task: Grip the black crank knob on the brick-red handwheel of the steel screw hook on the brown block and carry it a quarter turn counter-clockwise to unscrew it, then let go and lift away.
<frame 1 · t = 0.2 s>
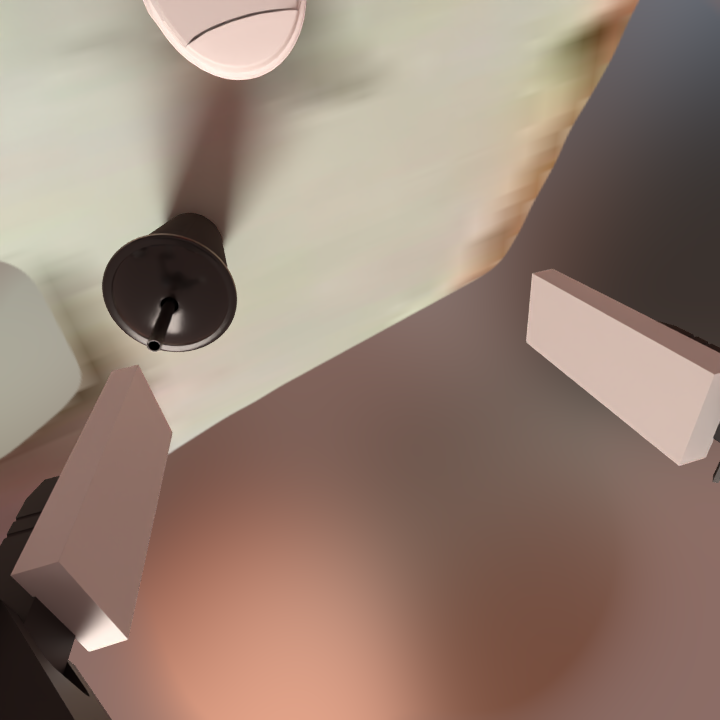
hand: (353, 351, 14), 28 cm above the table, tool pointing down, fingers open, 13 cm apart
drinking cup: (193, 241, 37), on the table
paper cup: (230, 29, 31), on the table
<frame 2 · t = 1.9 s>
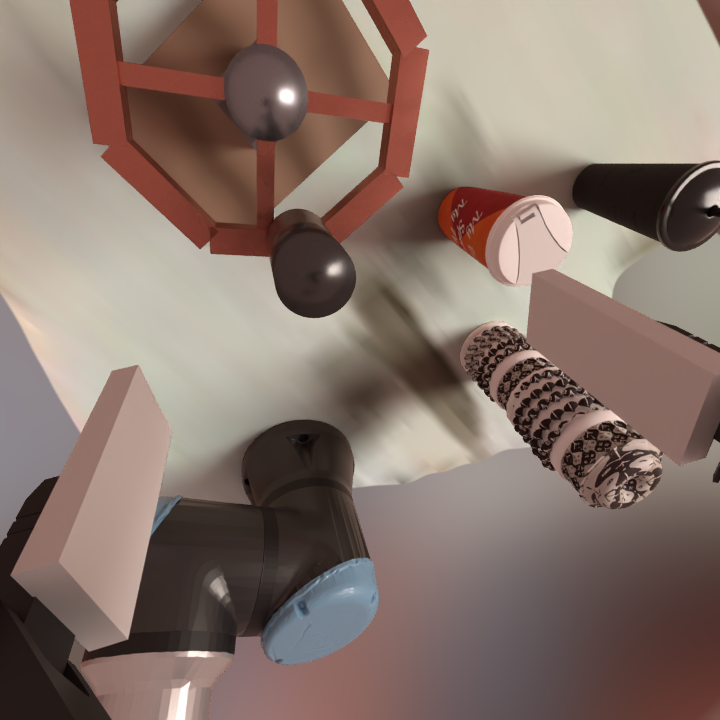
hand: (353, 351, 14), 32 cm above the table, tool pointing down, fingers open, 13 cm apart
drinking cup: (590, 186, 48), on the table
handwheel: (267, 96, 23), point 17 cm above the table, hinge at 0.0°
brown block: (256, 102, 37), on the table
paper cup: (460, 213, 46), on the table
decorative candle: (487, 348, 57), on the table
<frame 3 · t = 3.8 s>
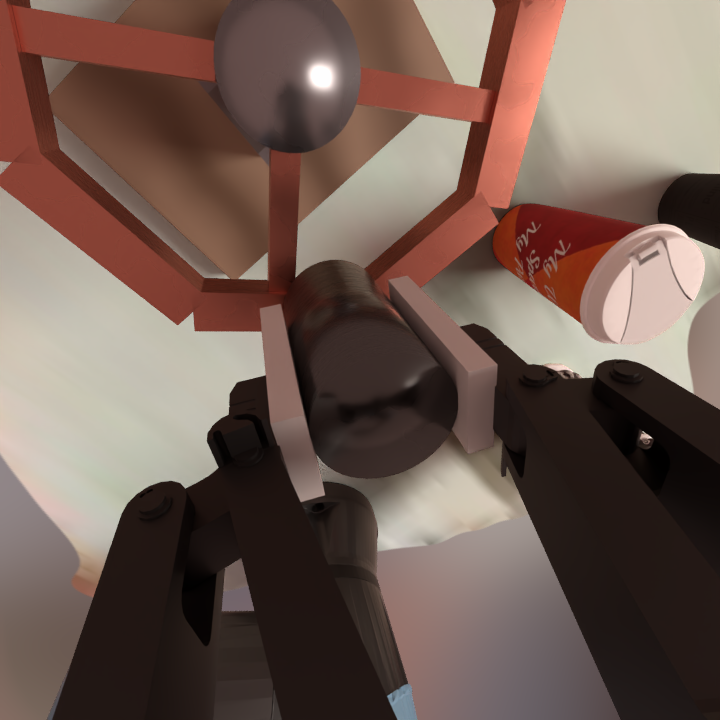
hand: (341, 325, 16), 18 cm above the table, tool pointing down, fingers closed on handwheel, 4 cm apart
drinking cup: (679, 201, 39), on the table
handwheel: (291, 75, 13), point 17 cm above the table, hinge at 0.0°, touching gripper
brown block: (264, 93, 27), on the table
paper cup: (520, 236, 37), on the table
decorative candle: (539, 394, 47), on the table
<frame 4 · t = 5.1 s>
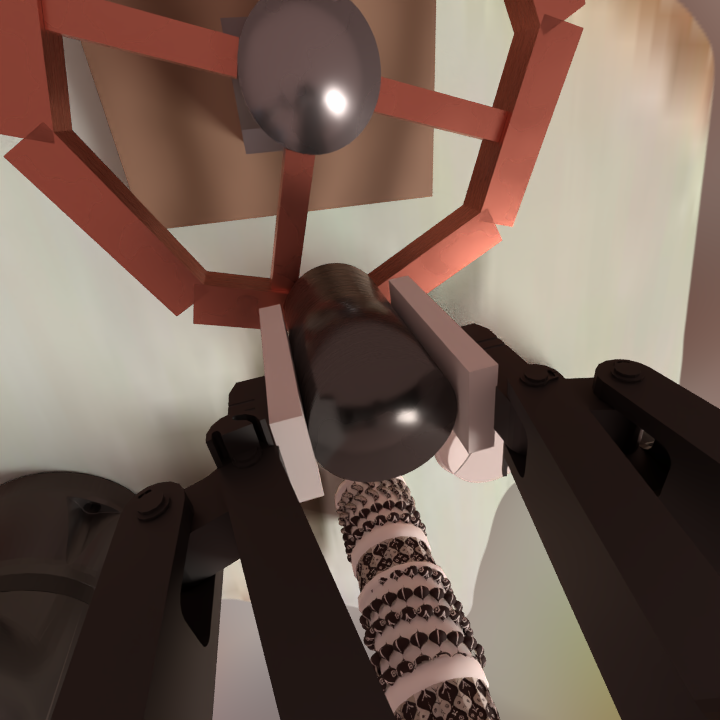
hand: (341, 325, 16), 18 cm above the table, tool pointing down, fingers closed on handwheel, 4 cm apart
handwheel: (312, 77, 13), point 17 cm above the table, hinge at 29.4°, touching gripper
brown block: (276, 94, 27), on the table
paper cup: (420, 347, 40), on the table
decorative candle: (370, 491, 48), on the table
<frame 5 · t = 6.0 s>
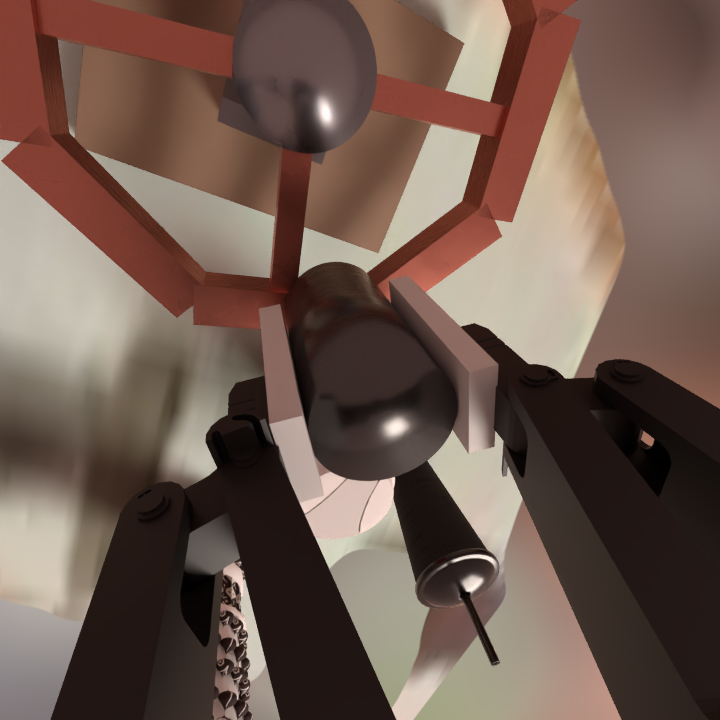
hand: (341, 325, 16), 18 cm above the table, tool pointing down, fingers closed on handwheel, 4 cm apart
drinking cup: (407, 468, 48), on the table
handwheel: (308, 76, 13), point 17 cm above the table, hinge at 56.7°, touching gripper
brown block: (274, 93, 27), on the table
paper cup: (314, 387, 39), on the table
decorative candle: (205, 514, 44), on the table
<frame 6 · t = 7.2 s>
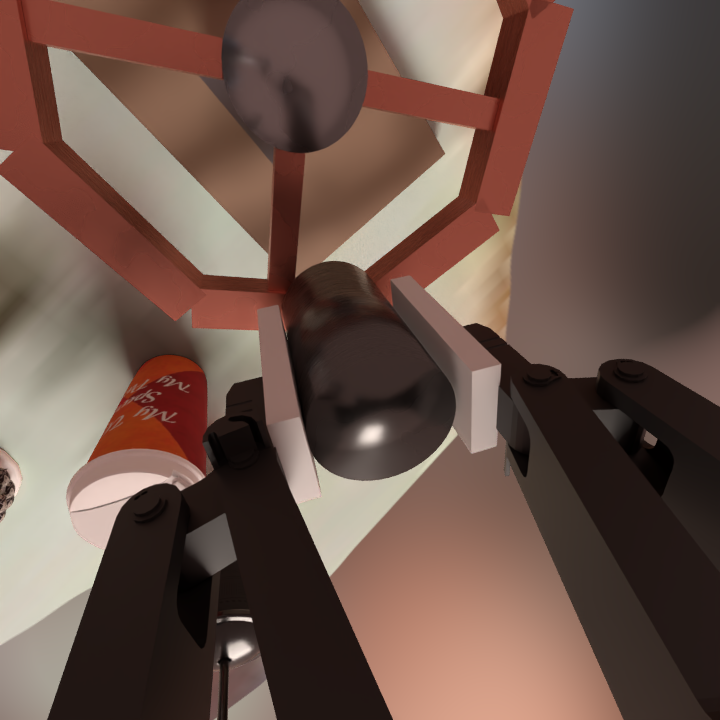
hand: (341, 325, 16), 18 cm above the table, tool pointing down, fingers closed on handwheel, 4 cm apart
drinking cup: (229, 505, 44), on the table
handwheel: (298, 75, 13), point 17 cm above the table, hinge at 88.0°, touching gripper
brown block: (269, 93, 27), on the table
paper cup: (172, 382, 36), on the table
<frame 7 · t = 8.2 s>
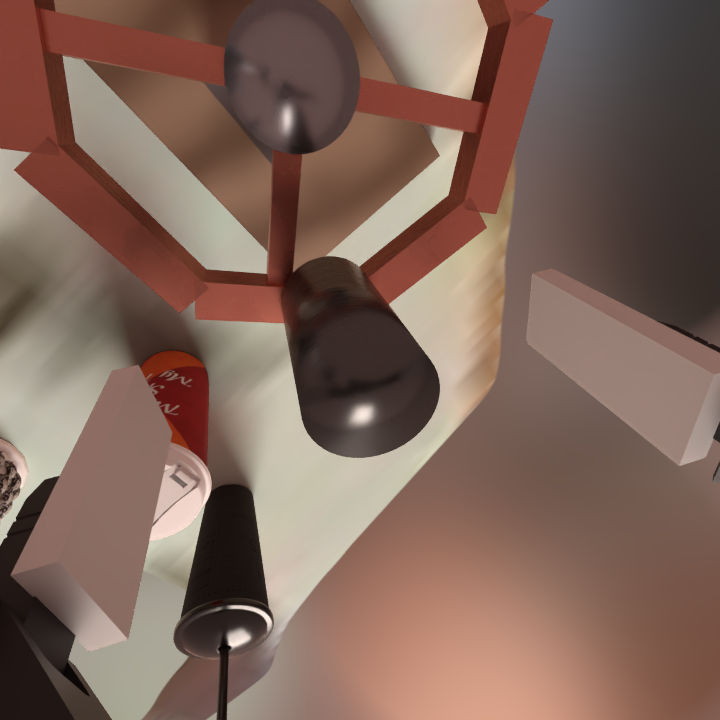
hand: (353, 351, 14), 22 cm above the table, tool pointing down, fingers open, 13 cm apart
drinking cup: (230, 499, 45), on the table
handwheel: (295, 81, 14), point 17 cm above the table, hinge at 88.0°
brown block: (269, 97, 28), on the table
paper cup: (174, 377, 37), on the table
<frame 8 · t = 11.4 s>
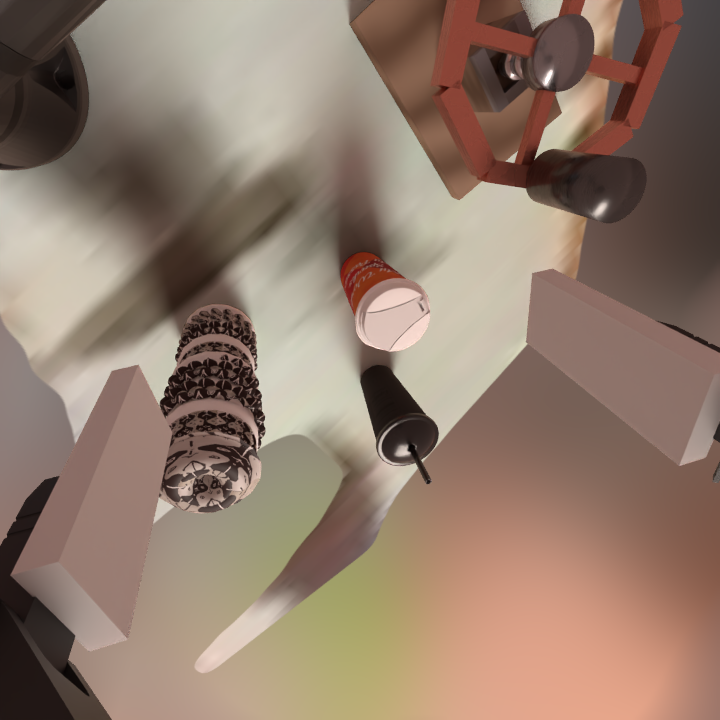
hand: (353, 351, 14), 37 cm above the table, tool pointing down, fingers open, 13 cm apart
drinking cup: (376, 378, 61), on the table
handwheel: (564, 55, 29), point 17 cm above the table, hinge at 88.0°
brown block: (459, 72, 43), on the table
paper cup: (361, 273, 52), on the table
decorative candle: (220, 334, 52), on the table
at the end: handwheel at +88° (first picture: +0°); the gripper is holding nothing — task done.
